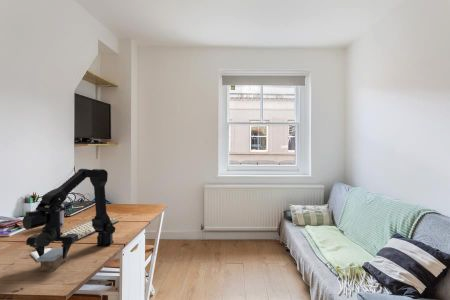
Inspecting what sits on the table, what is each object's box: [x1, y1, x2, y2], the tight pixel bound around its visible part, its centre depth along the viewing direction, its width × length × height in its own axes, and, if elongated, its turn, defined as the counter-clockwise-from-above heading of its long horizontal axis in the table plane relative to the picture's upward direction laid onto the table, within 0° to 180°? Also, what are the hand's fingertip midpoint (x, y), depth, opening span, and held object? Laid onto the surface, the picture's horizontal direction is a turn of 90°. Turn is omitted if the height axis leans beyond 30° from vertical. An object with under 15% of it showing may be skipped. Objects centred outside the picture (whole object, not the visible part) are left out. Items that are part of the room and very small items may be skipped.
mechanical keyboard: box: [61, 217, 120, 241], centre depth 163 cm, size 38×19×3 cm, turn 172°
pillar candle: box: [48, 203, 65, 229], centre depth 167 cm, size 10×10×15 cm
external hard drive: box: [30, 247, 52, 263], centre depth 125 cm, size 2×8×12 cm
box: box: [40, 255, 66, 272], centre depth 114 cm, size 5×9×4 cm, turn 2°
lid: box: [36, 248, 63, 262], centre depth 114 cm, size 7×10×1 cm, turn 3°
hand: (53, 259), depth 114 cm, fingers open, 9 cm apart
